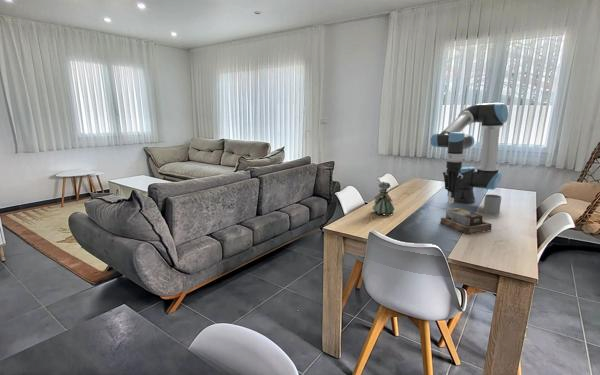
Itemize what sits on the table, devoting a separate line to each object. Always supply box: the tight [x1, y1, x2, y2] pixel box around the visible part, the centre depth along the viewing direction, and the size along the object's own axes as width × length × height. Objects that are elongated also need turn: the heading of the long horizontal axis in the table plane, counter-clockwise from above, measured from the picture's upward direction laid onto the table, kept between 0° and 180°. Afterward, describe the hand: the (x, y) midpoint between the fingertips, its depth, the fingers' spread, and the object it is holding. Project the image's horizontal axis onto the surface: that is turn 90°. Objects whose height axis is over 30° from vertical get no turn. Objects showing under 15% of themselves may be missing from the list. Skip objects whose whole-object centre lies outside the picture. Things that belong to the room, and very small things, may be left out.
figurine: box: [372, 181, 395, 215], centre depth 193 cm, size 14×14×20 cm
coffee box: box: [444, 207, 484, 227], centre depth 171 cm, size 9×6×16 cm
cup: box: [483, 194, 502, 215], centre depth 192 cm, size 8×8×10 cm
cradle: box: [439, 216, 492, 235], centre depth 169 cm, size 18×16×4 cm
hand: (450, 202), depth 177 cm, fingers closed
